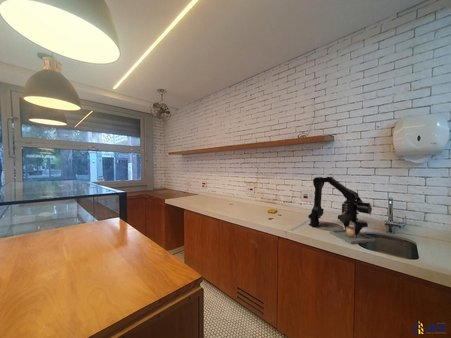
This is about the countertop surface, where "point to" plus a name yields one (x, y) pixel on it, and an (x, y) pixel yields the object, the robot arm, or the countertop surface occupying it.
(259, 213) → the countertop surface
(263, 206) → the countertop surface
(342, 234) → the tray
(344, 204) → the coffee box
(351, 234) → the tan rounded cone
